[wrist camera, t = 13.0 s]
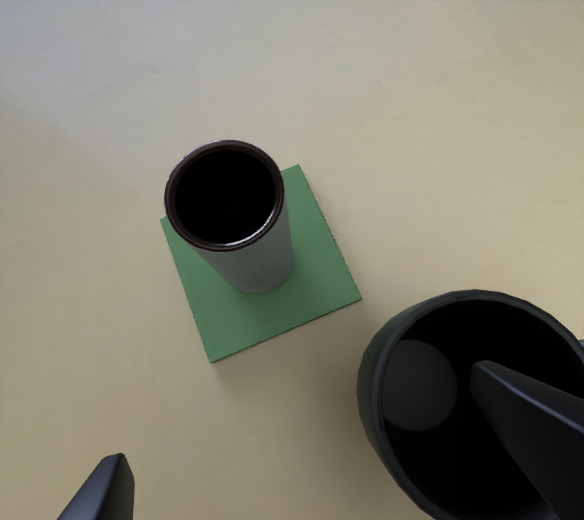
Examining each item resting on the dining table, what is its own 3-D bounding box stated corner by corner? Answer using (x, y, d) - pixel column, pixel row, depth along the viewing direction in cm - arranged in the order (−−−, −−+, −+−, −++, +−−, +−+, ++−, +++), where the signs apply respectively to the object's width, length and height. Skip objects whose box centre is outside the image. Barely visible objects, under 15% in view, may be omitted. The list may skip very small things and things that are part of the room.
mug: (567, 427, 21) (773, 487, 12) (362, 474, 21) (408, 572, 12) (516, 288, 23) (658, 245, 14) (328, 329, 23) (344, 314, 14)
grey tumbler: (263, 310, 23) (231, 277, 13) (208, 267, 24) (137, 205, 14) (307, 253, 24) (310, 180, 14) (252, 213, 24) (216, 117, 14)
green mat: (360, 299, 23) (361, 298, 23) (211, 363, 23) (210, 363, 22) (298, 166, 26) (298, 163, 25) (161, 220, 25) (159, 218, 24)
